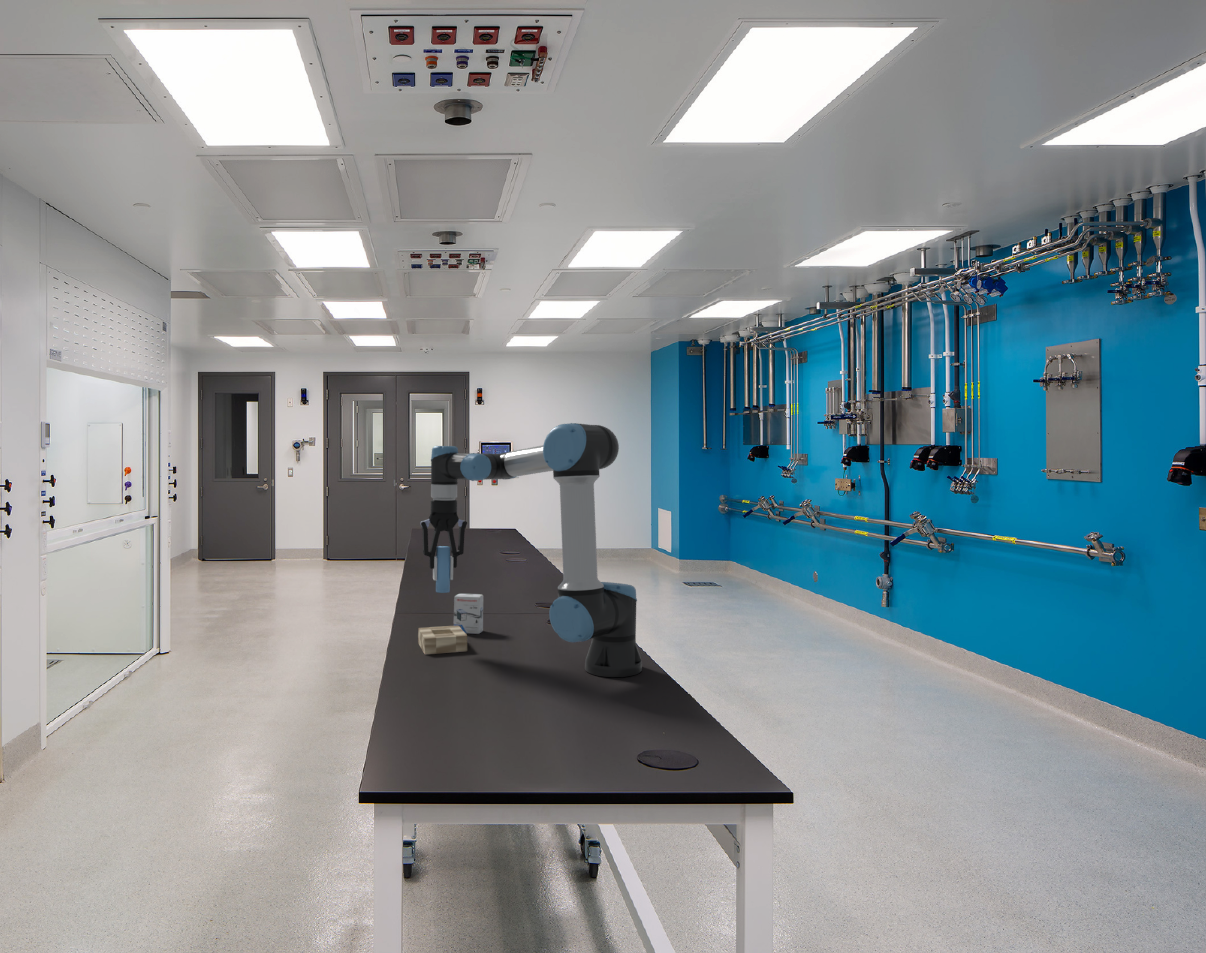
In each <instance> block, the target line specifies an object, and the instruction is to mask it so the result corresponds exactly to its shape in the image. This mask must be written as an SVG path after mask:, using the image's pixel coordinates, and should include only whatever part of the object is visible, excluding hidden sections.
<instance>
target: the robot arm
mask: <svg viewBox="0 0 1206 953" xmlns="http://www.w3.org/2000/svg"><path fill="white" fill-rule="evenodd" d="M619 444H620V443H619V441H618V437H617V436H616V435H615V433H614V432H613V431H612V430H611V429H609V428H608V427H606V426H603V425H600V424H587V423H586V424H585V423H577V422H576V423H573V422H570V423H561V424H558V425H556V426H554V427H553V428H552V429H551V430H550V431H549V433H548V434H547V435H546V437H545V439H544V442H543V445H538V446H533V447H528V448H523V449H516V450H511V451H507V452H501V453H478V452H477V453H475V452H473V453H471V452H470V453H467V452H464V453H461V452H460V453H459V448H458V447H457V446H455V445H434V446H433V447H432V449H431V457H430V458H431V459H430V472H431V473H430V482H431V483H430V497H431V498H432V499H431V500H430V515H429V517H428V519H425V520H421V521H420V522H419V525H420V526H421V529H422V532H421V533H422V534H421V535H422V554H423V556H426V557H429V558H428V559H429V563H428V564H429V566H428V567H429V568H430V569H431V570H432V579H433V581H435V582H436V580H437V557H436V556H435V555H436V548H437V547H438V543H439V538H440V534H441V532H446V534H447V537H448V538H447V539H448V542H449V547H450V554H451V555H450V581H453V580H454V569H456V568H457V567H458V557H459V556H462V555H463V554H464V551H465V550H464V549H465V533H466V532H465V530H466V527H467V525H468V522H467V521H466V520H463V519H460V518H459V516H458V500H456V499H457V498H458V480H464V481H465V480H466V481H472V482H474V481H476V482H477V481H479V482H480V481H484V480H512V479H515V478H517V477H522V476H527V475H533V474H534V475H536V474H540V473H542V474H543V473H547V472H552V474H553V475H552V476H553V480H554V481H556V482H557V483H558V485H559V494H560V495H559V499H560V504H559V505H560V522H561V523H560V525H561V526H560V527H561V548H562V552H561V553H562V554H561V555H562V574H563V576H562V577H563V580H562V581H561V583H560V584H558V586H557V598H556V599H554V601H553V602H552V604H551V605H550V607H549V612H548V613H549V617H548V618H549V621H550V626H552V629H553V631H554V632H555V633H556V634H557V635H558V637H559V638H560V639H561V640H563V641H566V642H568V643H580V642H583V643H584V642H585V641H589V640H591V642H590V646H589V648H588V652H587V655H586V657H585V659H584V660H585V661H584V670H585V671H586V672H587V673H589V674H591V675H594V676H598V677H605V678H606V677H607V678H624V677H631V676H635V675H638V674H640V673H641V672H642V670H643V662H642V661H643V660H642V657H641V654H640V651H639V648H638V645H637V642H636V641H637V640H636V638H637V635H636V634H637V633H636V632H637V603H638V599H637V590H636V587H635V586H634V585H631V584H627V583H619V582H610V581H601V580H599V578H598V558H597V533H596V532H597V531H596V529H597V528H596V508H595V503H596V502H595V483H596V481H597V480H598V479H599V478H600V470H603V469H605V468H606V469H607V468H608V467H610V466H611V465H612V464H613V463H614V462H615V461H616V459H617V457H618V454H619V449H620V447H619V446H620V445H619ZM457 524H458V525H457ZM430 525H431V526H432V527H433V528H434V529H433V536H432V540H431V544H430V549H429V530H428V528H429V527H430ZM456 525H457V526H458V527H459V528H458V542H457V545H456V540H455V536H454V528H455V526H456Z"/></svg>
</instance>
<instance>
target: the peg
mask: <svg viewBox="0 0 1206 953" xmlns="http://www.w3.org/2000/svg"><path fill="white" fill-rule="evenodd" d="M435 555H436V556H435V557H437V580H435V593H439V594H446V593H450V592H451V586H450V585H451V580H450V556H451V548H450V545H449V546H444V545H442V546H441V545H439V546H438V545H437V548H436V552H435Z"/></svg>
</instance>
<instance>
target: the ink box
mask: <svg viewBox="0 0 1206 953" xmlns="http://www.w3.org/2000/svg"><path fill="white" fill-rule="evenodd" d="M453 598H454V599H453V602H454V603H453V604H454V605H453V626H456V625H459V627H460V628H461V629H462V630H463V631H464V632H465V634H476V635H479V634H480V633H482V632H483V631H484V595H483V594H482V593H481V594H480V593H458V594H455V595H454V597H453Z"/></svg>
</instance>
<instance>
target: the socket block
mask: <svg viewBox="0 0 1206 953" xmlns="http://www.w3.org/2000/svg"><path fill="white" fill-rule="evenodd" d="M417 632H418V633H417V638H418V639H417V644H418V645H419V647H420V649H421V651H422V652H423V653H424V655H435V654H437V655H438V654H446V653H447V654H448V653H449V654H450V653H459V652H468V635H467V633H465V632H464V631H463V630H462V629H461V628H460V627H459V625H456V626H454V625H446V626H443V625H442V626H430V627H429V626H428V627H418V630H417Z"/></svg>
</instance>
